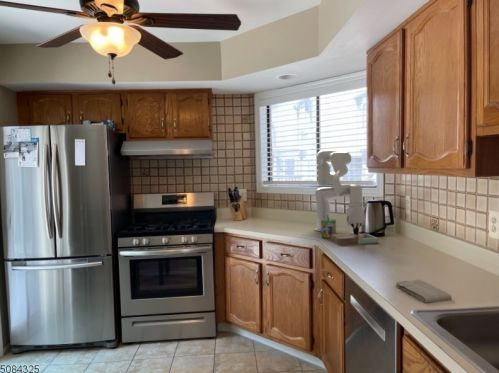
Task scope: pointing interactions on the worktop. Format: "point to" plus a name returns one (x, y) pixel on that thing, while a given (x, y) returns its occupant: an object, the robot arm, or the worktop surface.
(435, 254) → the worktop surface
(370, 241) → the box
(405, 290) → the washcloth
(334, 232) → the chalk box
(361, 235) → the terracotta block
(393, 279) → the worktop surface
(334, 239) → the walnut board
